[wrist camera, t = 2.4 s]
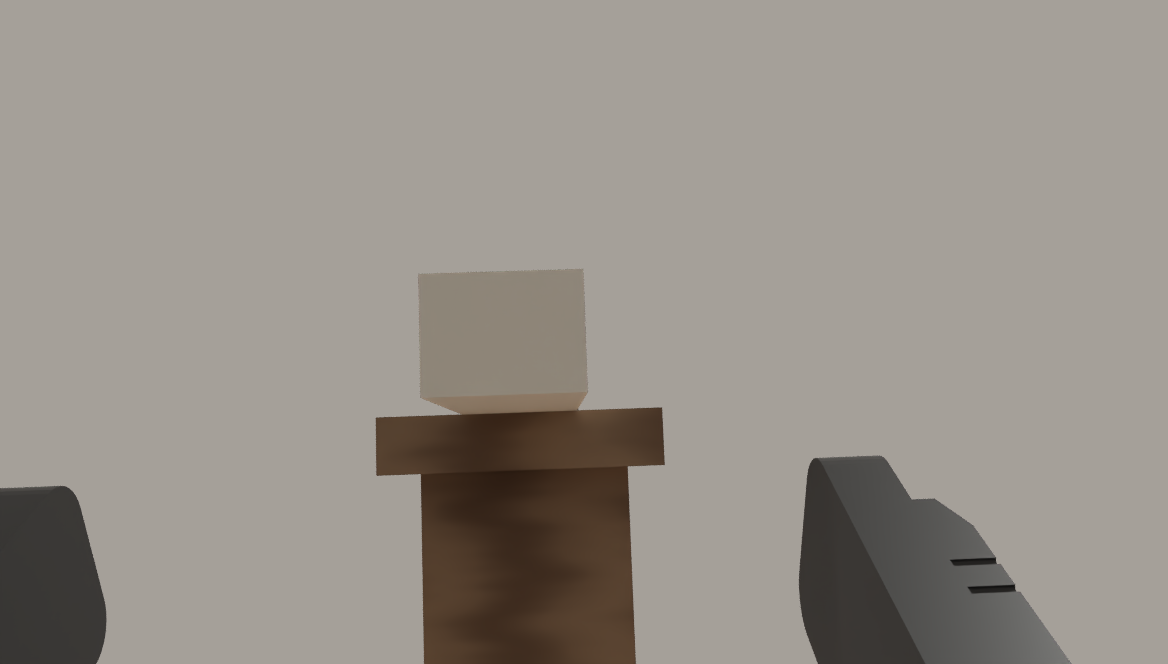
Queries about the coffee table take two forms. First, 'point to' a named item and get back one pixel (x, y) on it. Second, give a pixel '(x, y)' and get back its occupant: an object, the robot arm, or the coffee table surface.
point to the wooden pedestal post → (525, 530)
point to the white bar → (503, 341)
